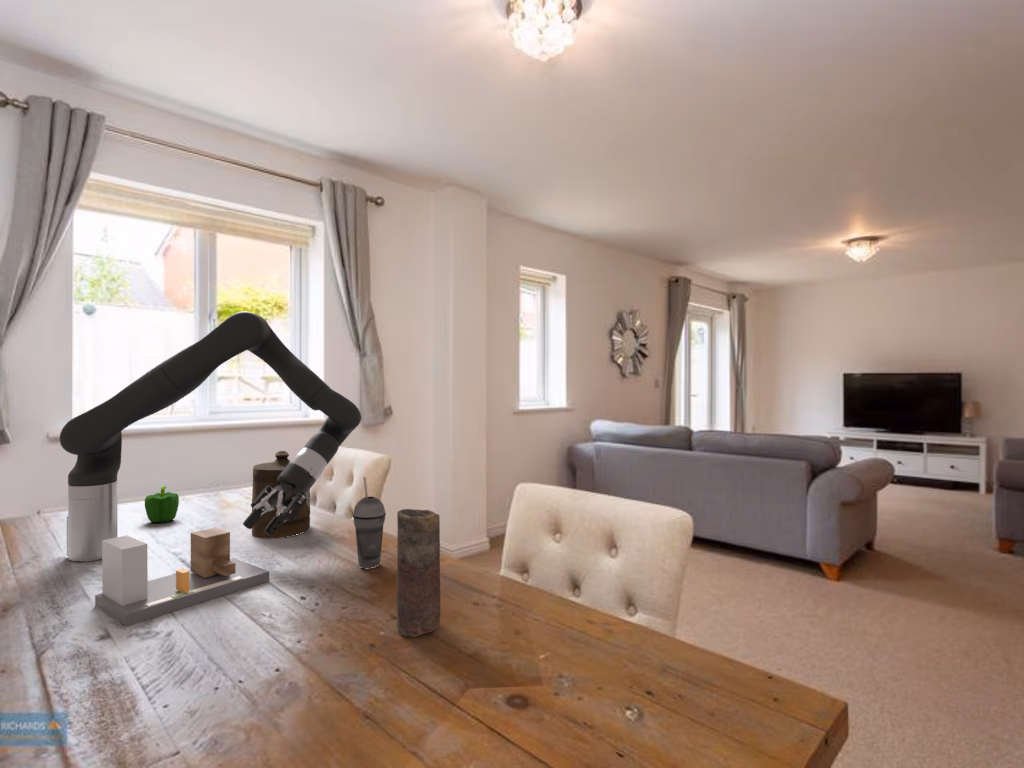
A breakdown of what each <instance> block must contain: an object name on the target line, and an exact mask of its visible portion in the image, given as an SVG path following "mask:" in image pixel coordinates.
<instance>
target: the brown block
mask: <svg viewBox="0 0 1024 768" xmlns="http://www.w3.org/2000/svg"><path fill="white" fill-rule="evenodd" d="M230 559H231V532H230V531H227V530H224V529H221V528H218V527H212V528H207V529H202V530H198V531H192V532H190V570H191V572H193V573H195V574H198V575H200V576H202V577H204V578H206V577H210V576H213V575H217V574H222V575H224V576H227V575H231V574H234V573H236V563H234V562H231V561H230Z"/></svg>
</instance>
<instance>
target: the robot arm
mask: <svg viewBox="0 0 1024 768" xmlns="http://www.w3.org/2000/svg"><path fill="white" fill-rule="evenodd" d="M246 351H249V352H250V353H252V354H253V355H255V356H256V357H258V358H259V359H261V361H262V362H264V363H265V364H267V365H268V366H269V367H270V368H271V369H272V370H273V371H274V373H276V374H277V376H278V377H279V378H280V379H281V380H282V381H283V383H284V384H285V385H286V386H287V388H289V390H290V391H292V393H293V394H294V395H295V396H296V397H297V398H299V399H300V401H302V402H303V403H304V404H305V405H306V406H307V407H308V408H310V409H311V410H313V411H320V412H321V413H322V414H324V415H325V416H327V418H326V420H325V421H324V422H323V423H322V425H321V426H320V428H319V429H318V431H317V432H316V433H314V434H313V435H312V437H310V439H308V441H306V443H305V445H304V446H303V447H302V448H301V449H300V451H299V452H297V453H296V454H295V455H294V457H293V458H292V459H291V460H290V463H289V464H288V465H287V466H286V468H285V469H284V470H283V471H282V472H281V474H280V475H279V476H278V478H277V479H278V482H279V484H278V485H277V486H276V487H275V488H274V489H273V488H271V487H270V486H269V485H268V486H266V487H265V488H264V489H263V491H262V492H261V493H260V494H259V495H258V496H257V497H256V499H255V500H254V501H253V502H252V501H251V503H250V508H251V509H252V508H253V511H252V510H251V512H250V514H249V515H248V516H247V518H246V519H245V520H244V521H243V523H242V525H243V527H245V528H247V529H248V530H252V527H253V526H254V525H255V524H256V522H257V521H258V520H259V519H260V517H261V515H263V514H264V513H266V512H267V511H272V510H274V509H277V513H276V516H277V517H275V516H274V517H273V519H272V520H271V521H270V522H269V524H268V525H267V526H266V528H265V529H264V532H265V533H266V534H268V535H269V536H272V535H273V534H274V533H275V532H276V531H277V529H278V528H279V527H280V525H281V524H282V523H283V522H286V521H287V520H289V521H292V520H293V519H294V518H295V517H296V515H297V514H298V512H299V511H300V509H301V508H302V507H303V505H304V504H305V502H306V501H307V498H306V497H305V495H306V494H307V492H308V491H309V490H310V491H311V488H312V487H313V486H314V484H315V483H316V482H317V481H318V479H319V478H320V477H321V475H322V474H323V473H324V471H325V468H326V467H327V466H328V465H329V464H330V462H331V460H332V459H333V458H334V457H335V455H336V454H337V452H338V450H339V449H340V448H339V447H340V446H341V445H342V444H343V443H344V442H345V440H346V439H347V438H348V437H349V436H350V435H351V433H353V431H354V430H355V429H356V428H357V427H358V426H359V425H360V424H361V421H362V414H361V411H360V409H359V408H358V407H357V405H356V404H355V403H354V402H352V401H351V400H350V399H348V398H347V397H345V395H342V394H341V393H339V392H337V391H336V390H334V389H332V388H331V387H330V386H329V385H328V384H327V383H326V382H325V381H324V380H323V379H322V378H320V377H319V376H318V375H317V374H316V373H315V372H314V371H313V370H311V369H310V367H308V366H307V365H306V364H305V363H303V361H301V359H299V358H298V357H297V356H296V355H295V354H294V353H293V352H291V350H290V349H288V347H287V346H286V345H285V344H284V342H283V341H282V340H281V339H280V338H279V336H278V335H277V334H276V332H275V331H274V330H273V329H272V328H271V326H270V325H269V323H268V322H267V320H266V319H265V318H263V316H261V315H259V314H257V313H253V312H250V311H238V312H235V313H233V314H232V315H229V317H227V318H226V319H225V320H224V321H222V322H221V323H220V324H219V325H218V326H216V327H215V328H214V329H212V330H211V331H210V332H209V333H208V334H206V335H205V336H203V337H202V338H200V339H199V340H198V341H196V342H195V343H193V344H191V345H189V346H188V347H186V348H184V349H181V351H179V352H177V353H175V354H174V355H172V356H170V357H169V358H168V359H166V360H164V361H162V362H161V363H160V364H157V365H156V366H155V367H153V368H151V369H150V370H148V371H147V372H146V373H144V374H143V375H141V376H139V378H137V379H135V380H134V381H133V382H132V383H130V384H129V385H127V386H126V387H124V388H122V389H121V390H120V391H119V392H118V393H117V394H115V395H113V396H112V397H111V398H108V399H107V400H105V401H104V402H102V403H100V404H98V405H97V406H95V407H93V408H91V409H89V410H87V411H84V412H83V413H81V414H78V415H77V416H75V417H73V418H72V419H70V420H69V421H67V423H65V424H64V426H63V427H62V428H61V432H60V433H59V434H60V435H59V443H60V446H61V447H62V449H63V450H64V451H65V452H67V453H69V454H71V455H75V456H77V457H76V463H75V465H74V467H72V469H71V470H70V472H69V473H68V474H67V475H68V476H67V484H68V485H67V490H68V491H67V492H68V493H67V494H68V495H67V498H68V499H67V502H68V503H67V504H68V505H67V507H68V508H67V509H68V514H67V515H68V516H66V557H67V556H68V557H67V558H68V561H70V560H71V561H70V562H75V561H80V562H81V561H83V562H92V561H99V560H102V540H107V539H112V538H117V537H118V473H119V471H120V468H121V463H122V445H123V443H122V441H123V436H122V431H123V430H125V429H126V428H128V427H129V426H130V425H132V424H134V423H136V422H138V421H140V420H143V419H145V418H147V417H149V416H151V415H155V414H156V413H159V412H160V411H162V410H165V409H167V408H168V407H170V406H173V405H174V404H176V403H177V402H179V401H180V400H182V399H184V398H186V397H187V396H188V395H189V394H191V393H193V391H195V390H196V389H197V388H199V387H200V386H201V385H202V384H203V383H204V382H205V381H206V380H207V379H208V378H209V377H210V376H211V375H212V373H213V372H214V371H216V369H217V368H218V367H220V366H221V365H223V364H225V363H226V362H227V361H230V360H231V359H233V358H234V357H236V356H238V355H240V354H242V353H244V352H246ZM260 500H261V502H260V503H258V502H259V501H260ZM268 501H269V503H268ZM257 503H258V504H257ZM263 507H265V508H264V509H262V508H263ZM291 509H294V511H293V512H292V514H290V513H291ZM80 562H79V563H80ZM81 563H82V562H81Z"/></svg>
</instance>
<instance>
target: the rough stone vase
mask: <svg viewBox="0 0 1024 768" xmlns="http://www.w3.org/2000/svg"><path fill="white" fill-rule="evenodd" d="M396 516H397V525H396V527H397V532H396V533H397V535H396V537H397V544H396V545H397V546H396V547H397V549H396V553H397V559H396V561H397V563H396V564H397V565H396V567H397V569H396V573H397V574H396V576H397V577H396V583H397V584H396V628H397V632H398V634H399V633H400V634H401V635H400V634H399V635H400V636H402V635H404V636H403V637H413V638H417V637H419V636H421V635H423V634H427V633H432V632H434V631H436V629H438V628H439V626H440V623H441V618H442V617H441V563H440V562H441V561H440V560H441V537H440V534H441V533H440V532H441V531H440V528H441V527H440V514H438V513H436V512H434V511H432V510H429V509H412V508H403V509H399V510H398V511H397V515H396Z"/></svg>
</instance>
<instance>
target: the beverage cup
mask: <svg viewBox="0 0 1024 768" xmlns="http://www.w3.org/2000/svg"><path fill="white" fill-rule="evenodd" d="M363 485H364V495H365V497H362V498H361V499H359V501H357V503H356V504H355V506H354V508H353V514H352V518H353V524H354V527H355V539H356V540H355V541H356V550H357V551H356V552H357V561H358V567H359V566H360V567H362V568H371V567H375V566H377V565H379V566H380V564H381V556H382V546H383V545H382V544H383V543H382V542H383V533H384V524H385V520H386V515H387V513H386V509H385V506H384V503H383V502H382V501H381V500H380V499H379V498H377V497H375V496H369V495H368V485H367V477H366V476H364V477H363Z"/></svg>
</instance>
